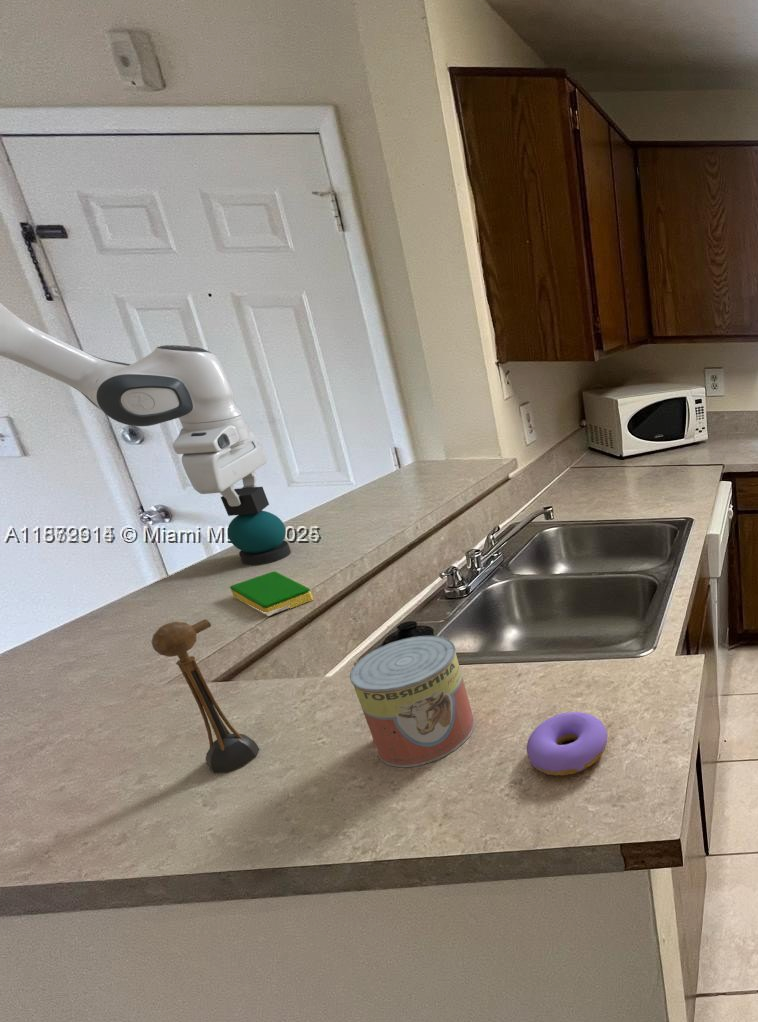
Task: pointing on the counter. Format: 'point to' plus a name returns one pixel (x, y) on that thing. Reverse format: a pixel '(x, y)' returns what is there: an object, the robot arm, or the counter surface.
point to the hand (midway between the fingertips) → (244, 499)
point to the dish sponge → (271, 592)
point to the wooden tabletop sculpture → (205, 698)
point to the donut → (570, 756)
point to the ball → (259, 538)
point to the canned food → (414, 700)
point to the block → (247, 501)
